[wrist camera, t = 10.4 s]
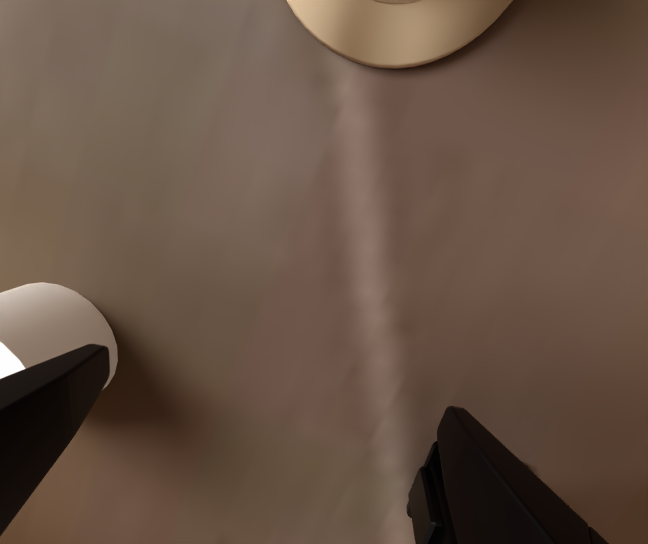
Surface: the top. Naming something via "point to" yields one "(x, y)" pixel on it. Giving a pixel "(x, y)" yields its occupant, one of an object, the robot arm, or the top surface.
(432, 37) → the beige round plate
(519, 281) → the top surface
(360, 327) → the top surface
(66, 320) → the cylinder with rectangular tab
